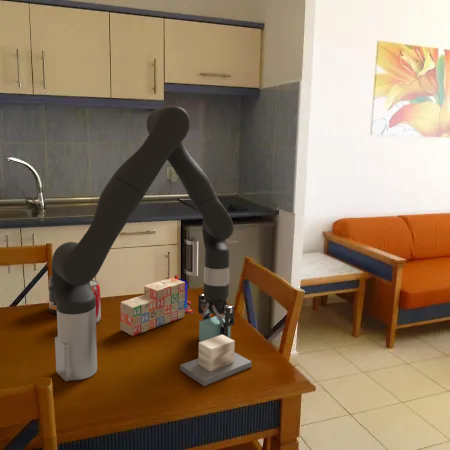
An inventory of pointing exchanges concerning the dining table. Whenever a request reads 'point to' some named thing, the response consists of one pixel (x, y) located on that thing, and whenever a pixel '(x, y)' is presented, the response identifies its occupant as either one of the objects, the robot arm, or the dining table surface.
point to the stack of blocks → (153, 306)
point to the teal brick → (210, 328)
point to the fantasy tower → (187, 308)
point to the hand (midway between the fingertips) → (215, 333)
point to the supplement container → (52, 297)
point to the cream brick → (216, 352)
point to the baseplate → (208, 376)
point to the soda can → (96, 298)
